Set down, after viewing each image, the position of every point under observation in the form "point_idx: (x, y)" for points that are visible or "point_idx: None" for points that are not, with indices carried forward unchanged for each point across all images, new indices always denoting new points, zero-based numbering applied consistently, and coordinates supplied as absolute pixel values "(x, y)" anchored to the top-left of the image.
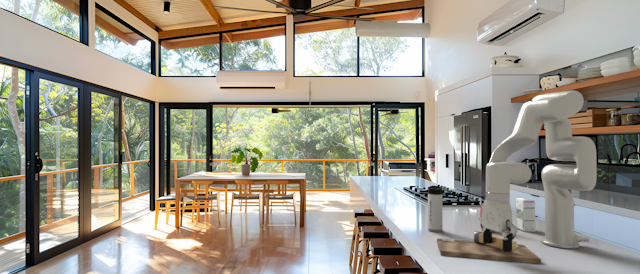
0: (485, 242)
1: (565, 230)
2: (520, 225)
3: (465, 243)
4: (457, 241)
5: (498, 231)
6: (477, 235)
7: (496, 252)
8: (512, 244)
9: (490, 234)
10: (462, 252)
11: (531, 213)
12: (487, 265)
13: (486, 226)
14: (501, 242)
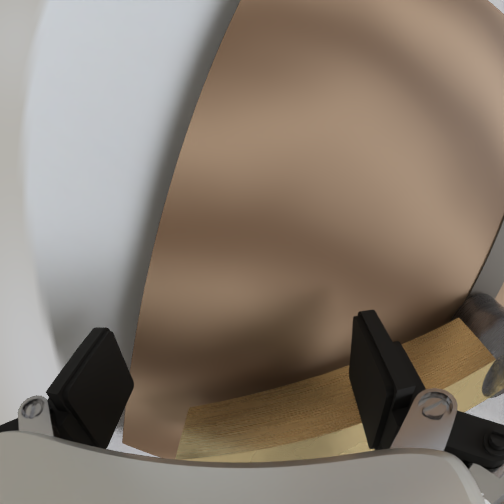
0: (354, 326)
1: None
2: (485, 500)
3: (487, 206)
4: None
5: (11, 431)
6: (493, 337)
7: (224, 321)
8: (179, 446)
9: (370, 429)
10: (240, 9)
11: None
12: (60, 132)
13: (286, 493)
14: (267, 426)
